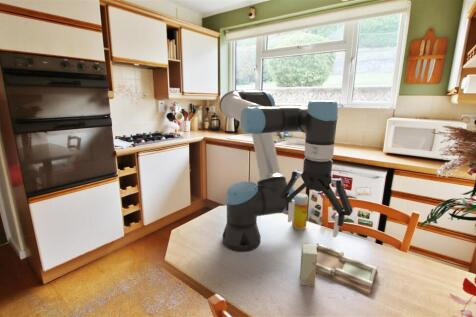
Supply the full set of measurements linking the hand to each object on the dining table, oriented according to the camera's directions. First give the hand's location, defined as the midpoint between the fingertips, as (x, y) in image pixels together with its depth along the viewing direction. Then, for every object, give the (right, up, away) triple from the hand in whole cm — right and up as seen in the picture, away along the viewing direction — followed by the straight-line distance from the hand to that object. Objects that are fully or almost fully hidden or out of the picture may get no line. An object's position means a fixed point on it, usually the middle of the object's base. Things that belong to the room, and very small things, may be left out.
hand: (311, 227), depth 73 cm
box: (0, -18, +5) cm, 19 cm away
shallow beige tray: (+12, -17, +10) cm, 23 cm away
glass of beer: (+5, -10, +36) cm, 38 cm away
